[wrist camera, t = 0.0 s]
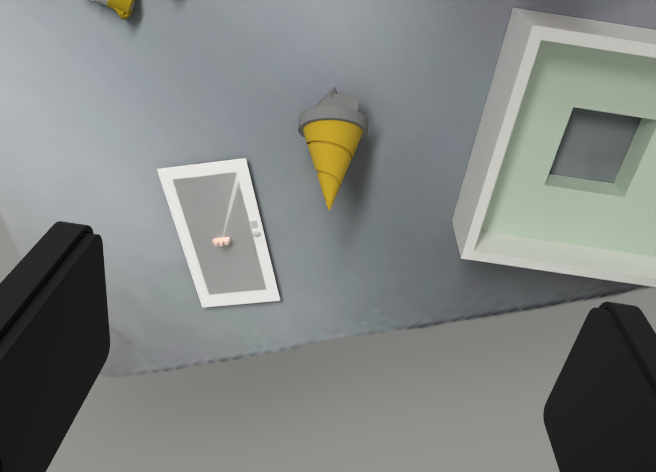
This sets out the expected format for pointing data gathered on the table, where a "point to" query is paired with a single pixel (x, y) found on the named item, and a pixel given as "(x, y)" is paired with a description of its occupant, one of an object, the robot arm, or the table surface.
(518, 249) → the holed box
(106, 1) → the extension cord
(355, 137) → the yellow tapered spiral part
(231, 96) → the table surface
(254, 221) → the white grey flat rectangle
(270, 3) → the table surface
